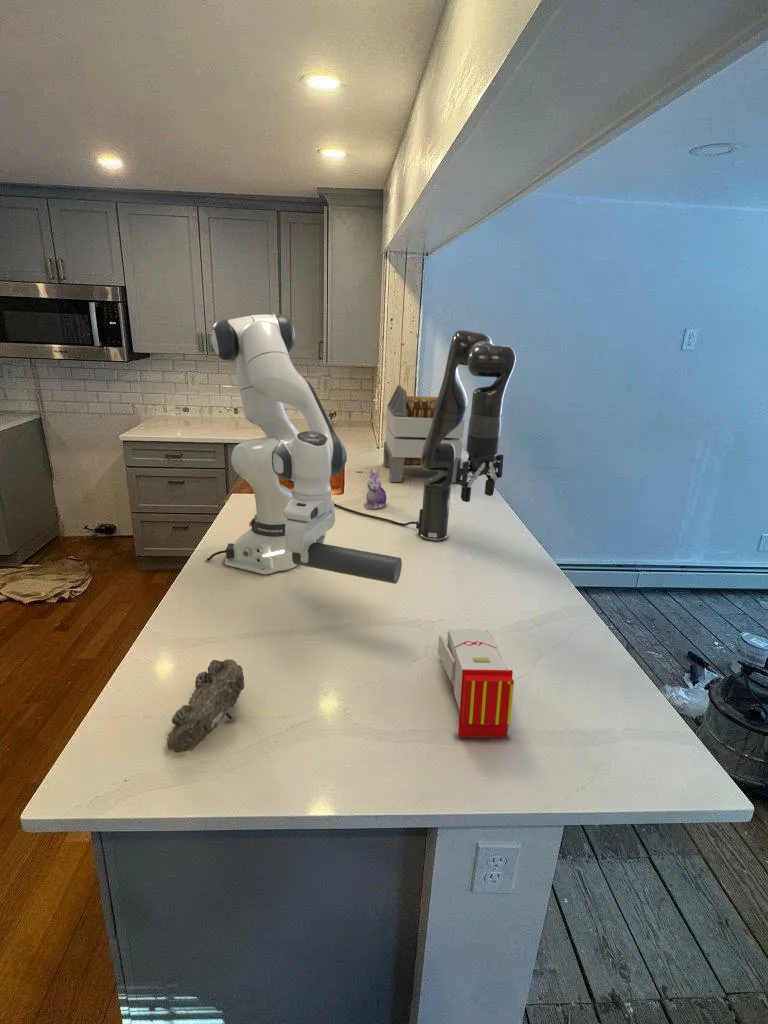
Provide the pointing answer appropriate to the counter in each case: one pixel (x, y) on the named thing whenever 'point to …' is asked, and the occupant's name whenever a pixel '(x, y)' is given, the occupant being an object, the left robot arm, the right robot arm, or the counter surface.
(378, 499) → the figurine
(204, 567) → the counter surface
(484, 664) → the toy
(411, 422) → the white crate
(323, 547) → the rod
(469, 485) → the right robot arm
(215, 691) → the fossil
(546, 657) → the counter surface
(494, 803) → the counter surface
